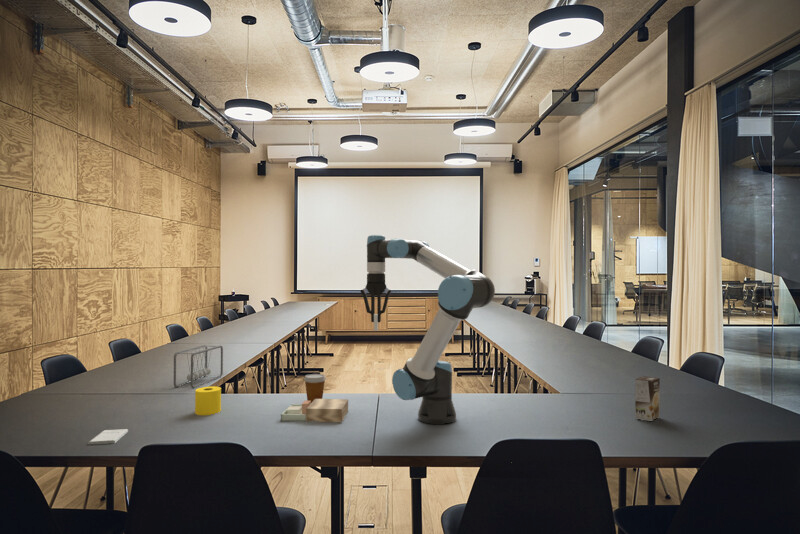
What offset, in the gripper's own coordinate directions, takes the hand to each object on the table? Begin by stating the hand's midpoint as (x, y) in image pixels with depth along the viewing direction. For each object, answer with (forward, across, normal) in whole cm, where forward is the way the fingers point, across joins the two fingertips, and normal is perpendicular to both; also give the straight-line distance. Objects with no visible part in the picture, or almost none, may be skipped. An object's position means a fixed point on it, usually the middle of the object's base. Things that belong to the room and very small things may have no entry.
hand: (375, 330), depth 203 cm
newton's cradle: (+35, +100, -53) cm, 118 cm away
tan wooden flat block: (+34, +19, +4) cm, 40 cm away
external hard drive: (+35, +90, +35) cm, 103 cm away
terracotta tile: (+31, +27, +4) cm, 41 cm away
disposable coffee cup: (+35, +29, -16) cm, 48 cm away
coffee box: (+35, -109, -1) cm, 114 cm away
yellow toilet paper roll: (+35, +70, +1) cm, 78 cm away
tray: (+34, +31, +4) cm, 47 cm away
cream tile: (+31, +33, +4) cm, 46 cm away
